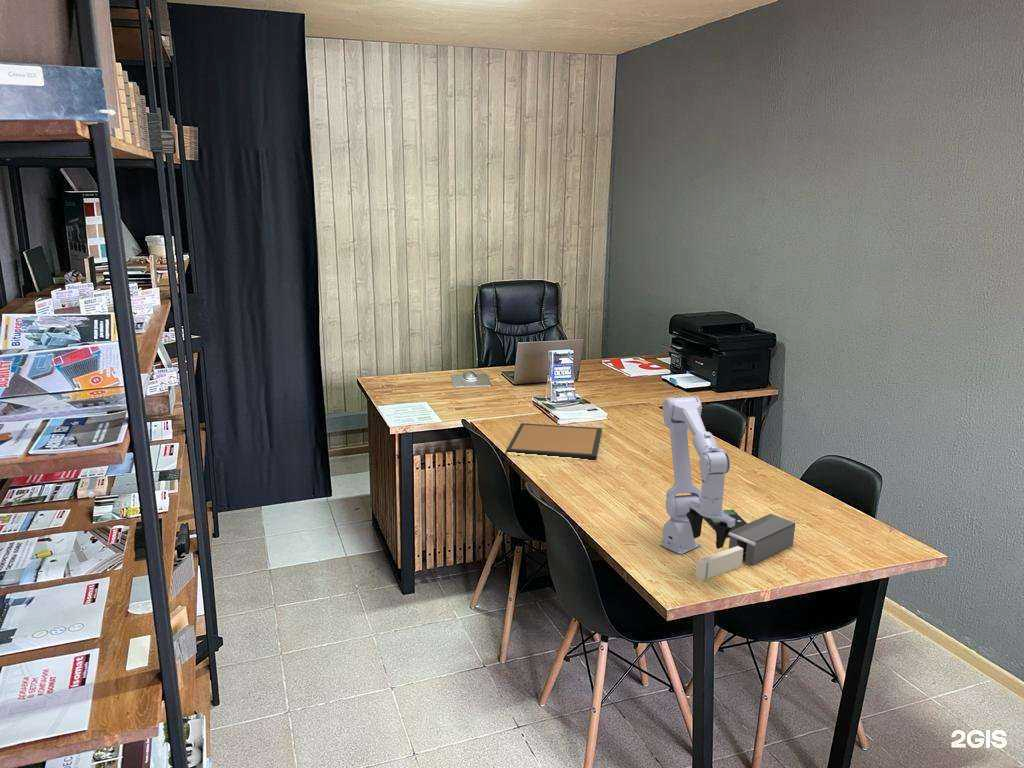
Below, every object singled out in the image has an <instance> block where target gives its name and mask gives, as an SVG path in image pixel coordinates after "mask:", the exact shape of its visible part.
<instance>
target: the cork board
mask: <svg viewBox="0 0 1024 768" xmlns="http://www.w3.org/2000/svg"><path fill="white" fill-rule="evenodd" d="M602 433H603V428H602V427H589V426H588V427H587V426H575V425H573V426H572V425H557V424H556V425H555V424H542V423H541V424H538V423H522V422H521V423H520V425H519V426H518V428H517V430H516V432H515V434H514V435H513V437H512V439H511V440H510V443H509V444H508V446H507V448H506V450H505V453H506V452H516V453H525V454H537V455H547V456H559V457H572V458H580V459H588V460H596V459H598V455H599V450H598V449H600V445H599V444H601V440H602V435H601V434H602ZM600 439H601V440H600ZM597 454H598V455H597ZM596 461H597V460H596Z"/></svg>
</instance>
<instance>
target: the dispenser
mask: <svg viewBox="0 0 1024 768" xmlns="http://www.w3.org/2000/svg"><path fill="white" fill-rule="evenodd" d="M795 529H796V522H794V521H791V520H789V519H787V518H784V517H781V516H778V515H775V514H773V513H769V514H767V515H764V516H761V517H760V518H758V519H755V520H753V521H751V522H749V523H748V522H747V524H746V525H743V526H741V527H739V528H737V529H734V530H732V531H730V532H729V534H728V535H729V536H730V537H729V542H728V549H730V548H733V547H736V546H739V547H741V548H743V555H744V554H745V563H747V564H749V565H751V566H754V565H757V564H758V563H760V562H762V561H764V560H767V559H768V558H770V557H773V556H774V555H776V554H779V553H780V552H782V551H784V550H787V549H789V548H791V547H792V546H794V539H795Z"/></svg>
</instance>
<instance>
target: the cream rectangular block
mask: <svg viewBox="0 0 1024 768" xmlns="http://www.w3.org/2000/svg"><path fill="white" fill-rule="evenodd" d="M743 556H744V554H743V548H741V547H739V546H736V547H733V548H730V549H729V548H728V549H725V550H722V551H719V552H715V553H713V554H710V555H708V556H705V557H702V558H699V559H697V560H696V564H695V567H696V568H695V576H694V577H695V579H696V580H698V581H699V582H703V581H705V580H708V579H711V578H713V577H717V576H719V575H721V574H722V575H723V574H725V573H727V572H730V571H732V570H736V569H738V568H740V567H742V566H743Z"/></svg>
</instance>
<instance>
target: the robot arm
mask: <svg viewBox="0 0 1024 768" xmlns="http://www.w3.org/2000/svg"><path fill="white" fill-rule="evenodd" d="M702 409H703V407H702V402H701V400H700V398H699V396H683V397H682V396H681V397H670V396H669V397H666V398H665V399H664V401H663V405H662V414H663V416H662V417H663V422H664V427H666V428H669V434H670V435H669V437H670V445H671V457H672V458H671V459H672V466H673V477H674V484H673V485H672V486H671V487H670V488H669V489H668V490H666V493H665V496H666V497H665V498H666V500H665V509H666V510H665V511H666V513H667V515H668V517H670V518H669V519H668V520H667V521H666V522H665V523H664V524H663V527H662V542H660V543H659V545H660V546H662V547H664V548H666V549H668V550H670V551H672V552H674V553H676V554H679V555H683V554H685V553H687V552H690V551H693V550H694V549H697V548H699V547H701V546H702V543H699V542H697V541H696V539H697V538H699V537H701V533H702V528H703V526H702V525H703V521H704V518H703V517H707V518H712V519H714V520H716V521H719V522H720V524H717V525H715V530H716V531H715V530H714V531H715V534H716V536H715V537H716V538H715V539H716V541H715V548H716V549H717V550H719V549H721V548H723V547H724V545H725V542H726V539H727V538H728V537H727V535H728V534H729V532H730V531H731V529H732V528H733V527H734V526H735V519H734V518H732V517H730V516H729V515H728V514H726V513H725V512H723V511H722V510H723V502H724V501H723V500H724V487H725V477H726V474H728V473H729V472H730V469H731V460H730V456H729V454H728V452H727V451H725V450H724V449H722V448H720V447H719V445H718V444H717V441H716V439H715V437H714V436H713V433H711V432H710V431H707V429H706V427H705V424H704V422H703V420H702V417H701V416H702V411H703V410H702ZM688 430H689V432H690V433H691V434H692V436H693V438H692V445H693V447H694V449H695V451H696V453H697V456H698V457H699V461H698V462H699V464H698V465H699V470H700V471H699V472H700V473H699V474H700V478H701V487H700V488H699V487H697V486H696V485H694V484H693V481H692V479H693V478H692V470H691V459H690V450H689V449H690V448H689V440H688ZM682 494H683V495H682ZM684 494H685V495H684Z"/></svg>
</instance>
